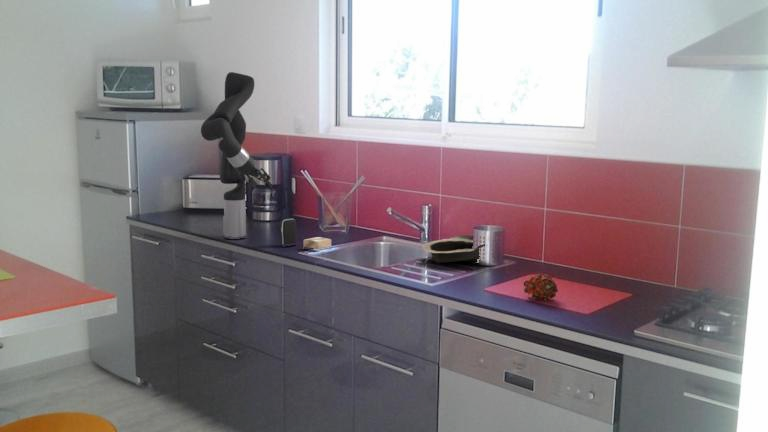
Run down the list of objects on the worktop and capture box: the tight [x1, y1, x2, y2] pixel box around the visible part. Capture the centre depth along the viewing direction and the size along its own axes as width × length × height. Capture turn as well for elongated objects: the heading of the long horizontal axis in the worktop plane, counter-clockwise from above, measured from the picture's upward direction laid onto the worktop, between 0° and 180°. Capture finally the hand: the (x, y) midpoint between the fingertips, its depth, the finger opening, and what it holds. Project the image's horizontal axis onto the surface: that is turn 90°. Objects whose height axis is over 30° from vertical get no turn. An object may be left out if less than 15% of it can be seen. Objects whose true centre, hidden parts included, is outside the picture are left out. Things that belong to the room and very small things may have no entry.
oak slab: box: [302, 236, 332, 249], centre depth 293 cm, size 8×8×4 cm
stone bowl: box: [421, 234, 486, 265], centre depth 271 cm, size 25×25×9 cm
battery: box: [278, 218, 297, 245], centre depth 298 cm, size 7×4×11 cm, turn 136°
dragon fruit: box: [523, 273, 559, 302], centre depth 220 cm, size 8×8×12 cm
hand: (263, 186), depth 285 cm, fingers open, 8 cm apart
